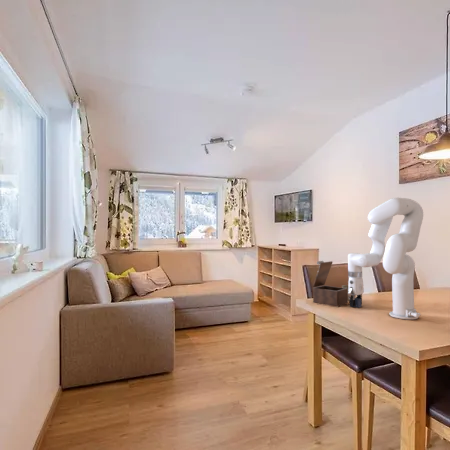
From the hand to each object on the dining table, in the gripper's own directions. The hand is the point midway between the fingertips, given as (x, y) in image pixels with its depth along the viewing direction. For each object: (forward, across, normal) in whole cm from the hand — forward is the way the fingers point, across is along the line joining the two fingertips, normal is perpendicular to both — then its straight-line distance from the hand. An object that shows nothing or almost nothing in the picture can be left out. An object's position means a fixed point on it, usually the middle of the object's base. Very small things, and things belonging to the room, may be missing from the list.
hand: (355, 304), depth 175 cm
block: (+1, 0, 0) cm, 1 cm away
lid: (-16, -2, +20) cm, 25 cm away
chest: (+1, -2, +15) cm, 15 cm away
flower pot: (+1, +14, +10) cm, 17 cm away
